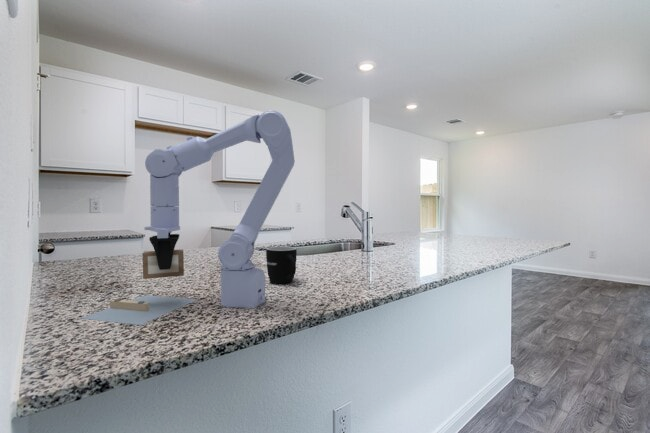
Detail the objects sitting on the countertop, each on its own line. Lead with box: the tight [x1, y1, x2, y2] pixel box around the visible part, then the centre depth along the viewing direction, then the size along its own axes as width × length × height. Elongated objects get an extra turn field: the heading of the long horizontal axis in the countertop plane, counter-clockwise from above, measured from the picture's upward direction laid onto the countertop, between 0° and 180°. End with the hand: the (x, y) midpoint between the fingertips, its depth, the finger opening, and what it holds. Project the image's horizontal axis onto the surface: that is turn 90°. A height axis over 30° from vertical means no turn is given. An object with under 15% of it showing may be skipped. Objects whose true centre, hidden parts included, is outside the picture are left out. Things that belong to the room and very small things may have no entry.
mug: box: [265, 246, 298, 285], centre depth 99 cm, size 12×9×10 cm
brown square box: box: [141, 249, 185, 280], centre depth 75 cm, size 8×3×6 cm, turn 112°
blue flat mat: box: [79, 294, 198, 326], centre depth 71 cm, size 14×17×3 cm
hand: (165, 267), depth 75 cm, fingers closed on brown square box, 3 cm apart
